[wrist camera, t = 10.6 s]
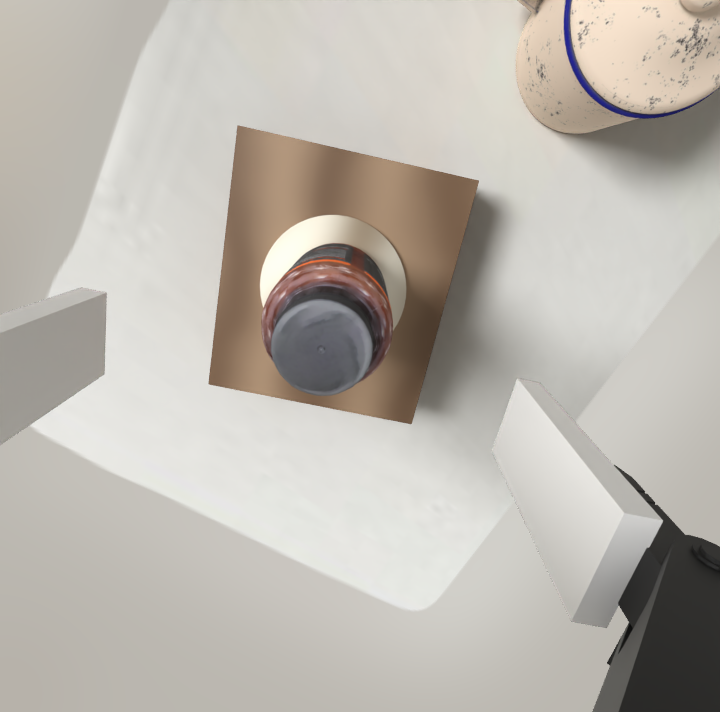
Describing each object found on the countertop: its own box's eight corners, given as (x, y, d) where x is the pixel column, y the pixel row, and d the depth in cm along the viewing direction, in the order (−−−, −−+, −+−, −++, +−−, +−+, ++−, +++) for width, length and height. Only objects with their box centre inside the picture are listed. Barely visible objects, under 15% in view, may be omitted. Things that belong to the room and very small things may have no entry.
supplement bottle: (268, 281, 28) (210, 333, 18) (346, 220, 27) (333, 236, 16) (329, 355, 30) (308, 444, 19) (404, 300, 29) (428, 363, 18)
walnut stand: (462, 183, 31) (480, 180, 26) (405, 394, 36) (411, 426, 31) (257, 136, 31) (235, 124, 25) (229, 359, 36) (206, 386, 31)
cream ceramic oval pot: (689, 24, 28) (895, -86, 17) (595, 165, 31) (723, 148, 20) (527, -94, 26) (642, -300, 15) (443, 67, 29) (490, -12, 18)
